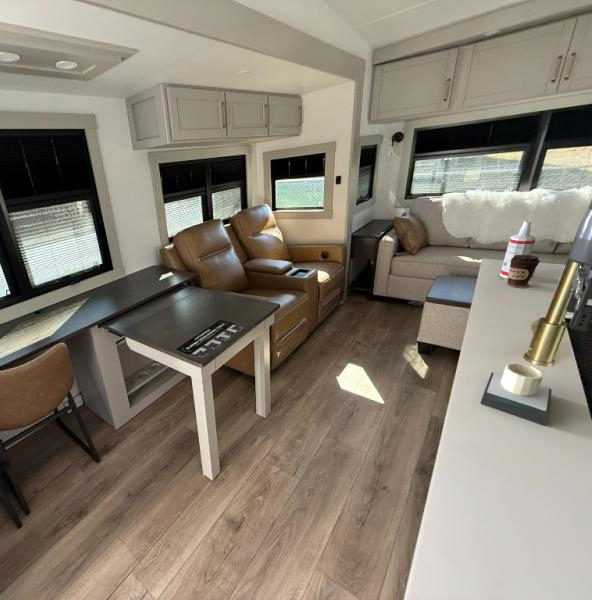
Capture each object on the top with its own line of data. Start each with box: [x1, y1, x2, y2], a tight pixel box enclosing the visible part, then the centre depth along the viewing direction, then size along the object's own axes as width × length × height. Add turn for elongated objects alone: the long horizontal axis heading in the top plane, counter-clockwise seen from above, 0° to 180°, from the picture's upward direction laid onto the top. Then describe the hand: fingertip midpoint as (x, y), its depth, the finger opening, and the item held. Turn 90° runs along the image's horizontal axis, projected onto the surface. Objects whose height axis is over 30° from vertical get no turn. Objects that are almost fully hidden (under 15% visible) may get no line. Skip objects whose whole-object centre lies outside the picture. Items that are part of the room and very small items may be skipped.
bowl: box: [501, 362, 545, 396], centre depth 77 cm, size 6×6×6 cm
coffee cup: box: [506, 254, 541, 289], centre depth 133 cm, size 9×8×13 cm
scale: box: [480, 371, 553, 426], centre depth 78 cm, size 13×11×3 cm
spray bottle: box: [499, 220, 537, 279], centre depth 140 cm, size 8×8×25 cm
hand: (575, 320), depth 60 cm, fingers open, 8 cm apart
